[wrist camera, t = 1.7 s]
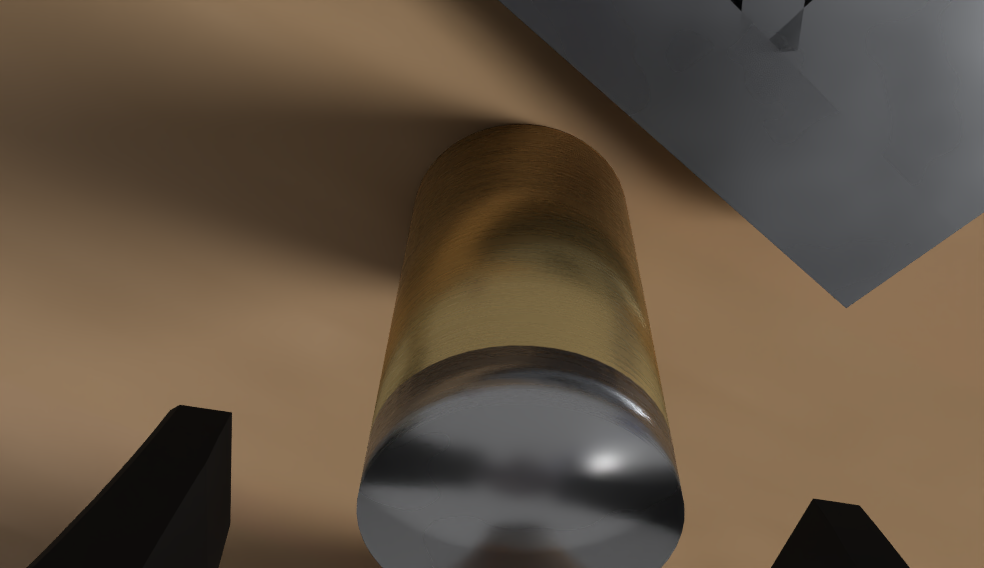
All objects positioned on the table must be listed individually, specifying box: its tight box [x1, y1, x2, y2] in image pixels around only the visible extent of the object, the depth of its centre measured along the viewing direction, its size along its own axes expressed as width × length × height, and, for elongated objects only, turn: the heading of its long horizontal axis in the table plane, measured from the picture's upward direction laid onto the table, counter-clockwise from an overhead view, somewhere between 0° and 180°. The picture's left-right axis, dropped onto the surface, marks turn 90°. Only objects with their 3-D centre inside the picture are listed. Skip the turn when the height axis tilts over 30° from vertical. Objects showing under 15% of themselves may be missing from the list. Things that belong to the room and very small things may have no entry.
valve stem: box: [357, 124, 684, 568], centre depth 13 cm, size 4×4×7 cm
